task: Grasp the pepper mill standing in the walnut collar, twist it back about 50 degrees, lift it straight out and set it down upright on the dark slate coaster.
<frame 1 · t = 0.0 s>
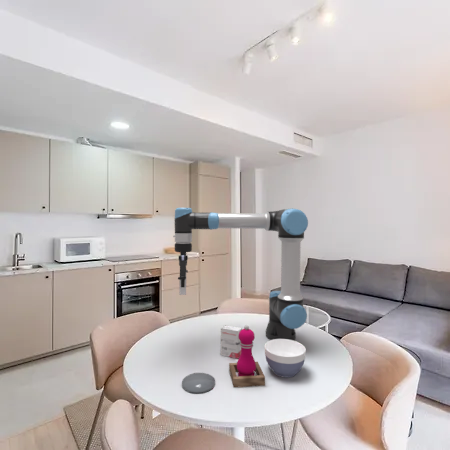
hand: (183, 290, 128), 28 cm above the table, fingers open, 13 cm apart
collar: (246, 377, 109), on the table
coaster: (198, 383, 105), on the table
bowl: (284, 371, 114), on the table
ink box: (231, 355, 128), on the table
pepper mill: (246, 378, 109), resting in collar
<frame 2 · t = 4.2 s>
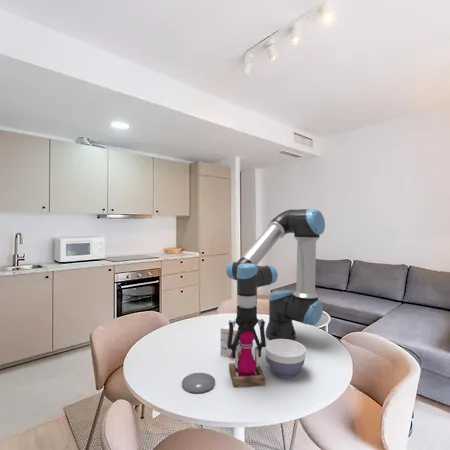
hand: (246, 365, 109), 5 cm above the table, fingers closed on pepper mill, 7 cm apart
pepper mill: (246, 378, 109), resting in collar, touching gripper
everything else where it was.
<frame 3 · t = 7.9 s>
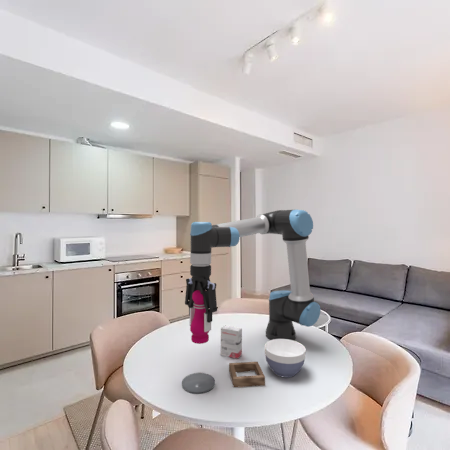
hand: (200, 327, 104), 20 cm above the table, fingers closed on pepper mill, 7 cm apart
pepper mill: (200, 340, 104), point 16 cm above the table, touching gripper
everything else where it was.
when the fingers open (6 cm above the table, at t = 11.3 s): pepper mill drops 1 cm, resting on coaster.
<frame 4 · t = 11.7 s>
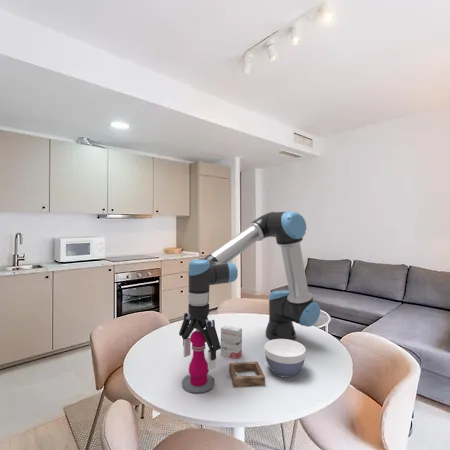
hand: (198, 361, 105), 8 cm above the table, fingers open, 12 cm apart
pepper mill: (198, 382, 105), point 1 cm above the table, touching coaster
everything else where it was.
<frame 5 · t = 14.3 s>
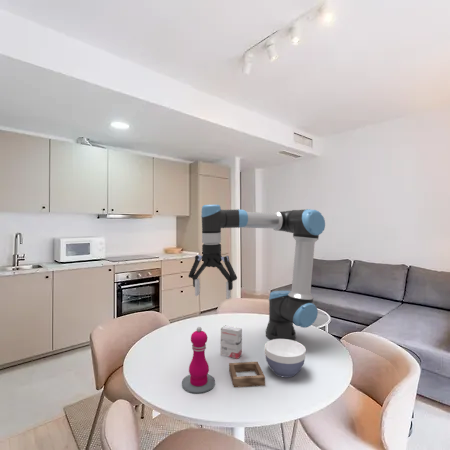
hand: (212, 296, 115), 29 cm above the table, fingers open, 13 cm apart
nothing on the table moved.
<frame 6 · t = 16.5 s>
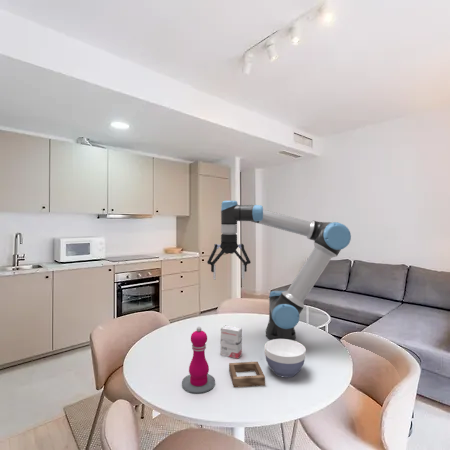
hand: (228, 278, 136), 32 cm above the table, fingers open, 13 cm apart
nothing on the table moved.
at the end: pepper mill 0.1 cm from the coaster (horizontally); pepper mill tilted 0°; the gripper is holding nothing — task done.
